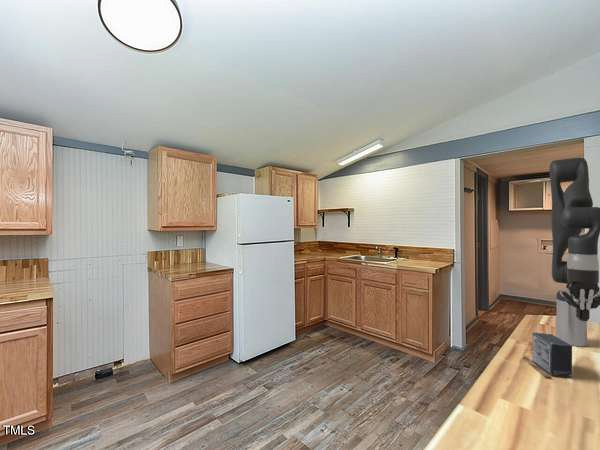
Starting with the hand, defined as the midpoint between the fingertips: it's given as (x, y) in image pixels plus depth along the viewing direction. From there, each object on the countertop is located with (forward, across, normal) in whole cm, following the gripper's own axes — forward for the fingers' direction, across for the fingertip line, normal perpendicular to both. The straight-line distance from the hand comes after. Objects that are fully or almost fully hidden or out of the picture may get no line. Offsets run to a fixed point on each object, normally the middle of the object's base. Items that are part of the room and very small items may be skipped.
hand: (582, 320), depth 96 cm
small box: (+17, +9, 0) cm, 19 cm away
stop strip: (+17, +13, 0) cm, 22 cm away
